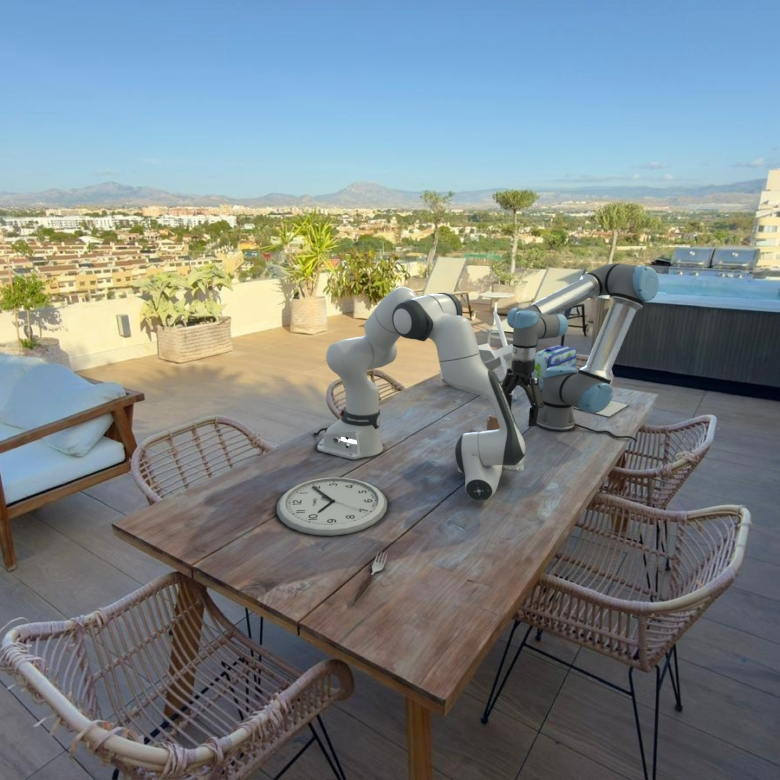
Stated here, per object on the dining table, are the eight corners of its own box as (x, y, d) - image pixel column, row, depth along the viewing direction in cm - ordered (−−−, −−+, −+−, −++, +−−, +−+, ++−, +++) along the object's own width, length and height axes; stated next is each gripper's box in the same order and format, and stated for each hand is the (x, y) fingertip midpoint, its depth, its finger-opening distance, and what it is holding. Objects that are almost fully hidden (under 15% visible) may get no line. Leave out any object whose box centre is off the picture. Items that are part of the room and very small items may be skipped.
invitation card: (608, 416, 214) (573, 407, 224) (608, 416, 214) (573, 408, 224) (628, 404, 229) (594, 396, 238) (628, 405, 229) (594, 397, 238)
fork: (349, 601, 106) (348, 593, 105) (377, 557, 120) (377, 550, 120) (360, 605, 105) (360, 596, 105) (388, 560, 119) (388, 552, 119)
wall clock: (392, 527, 129) (268, 531, 127) (391, 533, 130) (269, 537, 127) (383, 473, 158) (282, 475, 155) (383, 478, 158) (282, 480, 156)
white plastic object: (461, 429, 252) (437, 405, 227) (444, 352, 274) (420, 323, 250) (535, 404, 240) (518, 377, 215) (510, 326, 262) (492, 293, 237)
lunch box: (548, 398, 236) (553, 353, 229) (527, 393, 243) (531, 349, 237) (575, 387, 253) (581, 344, 247) (555, 382, 260) (560, 341, 254)
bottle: (484, 464, 169) (488, 412, 164) (499, 466, 168) (503, 414, 163) (483, 470, 165) (487, 417, 160) (498, 472, 164) (502, 419, 159)
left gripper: (524, 461, 149) (527, 443, 162) (453, 451, 155) (462, 434, 167) (522, 481, 151) (525, 462, 163) (452, 470, 157) (461, 453, 169)
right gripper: (491, 351, 180) (488, 409, 187) (539, 369, 159) (534, 434, 165) (509, 349, 183) (506, 406, 190) (558, 366, 162) (553, 430, 168)
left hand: (493, 448), depth 165 cm, fingers closed on bottle, 5 cm apart
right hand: (519, 419), depth 178 cm, fingers open, 13 cm apart
